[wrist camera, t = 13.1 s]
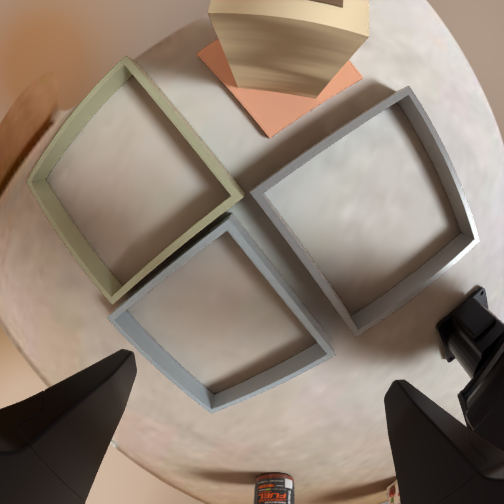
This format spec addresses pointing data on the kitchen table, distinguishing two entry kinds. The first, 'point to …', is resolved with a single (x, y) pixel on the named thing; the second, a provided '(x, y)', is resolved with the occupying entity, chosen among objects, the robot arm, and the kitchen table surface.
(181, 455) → the kitchen table surface
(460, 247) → the tray charcoal
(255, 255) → the tray slate
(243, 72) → the letter block
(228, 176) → the tray olive
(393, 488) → the juice carton
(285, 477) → the supplement bottle
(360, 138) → the kitchen table surface
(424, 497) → the robot arm
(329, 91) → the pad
